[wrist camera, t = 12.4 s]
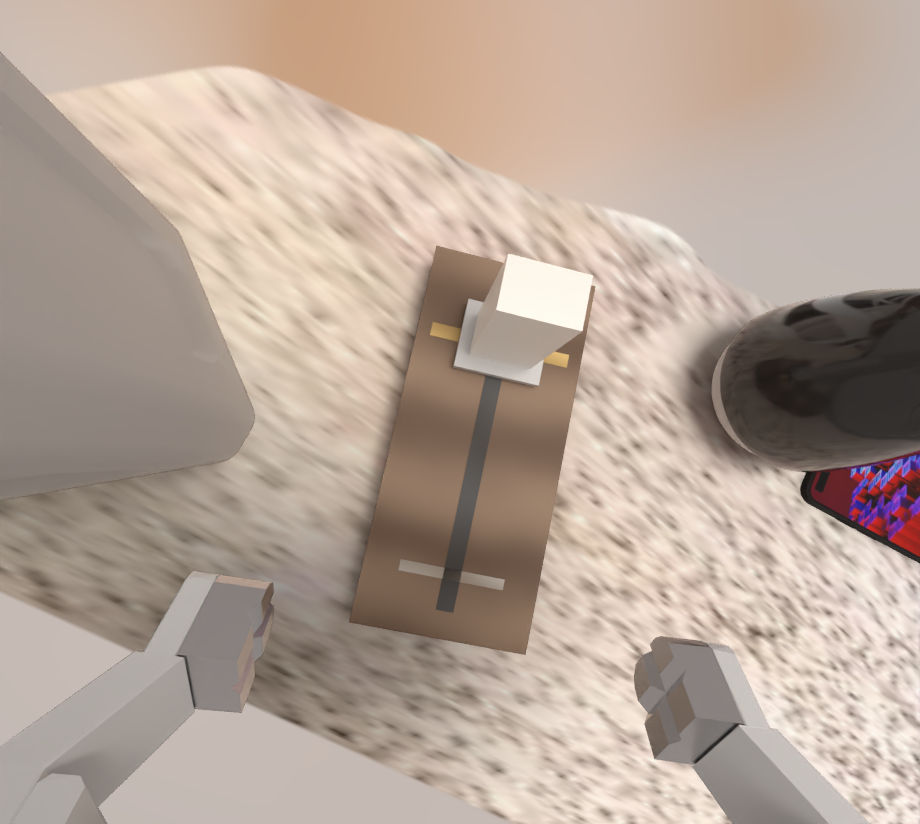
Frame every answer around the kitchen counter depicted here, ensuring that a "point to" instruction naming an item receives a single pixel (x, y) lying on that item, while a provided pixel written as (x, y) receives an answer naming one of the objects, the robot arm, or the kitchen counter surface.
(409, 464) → the board
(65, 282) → the grey box
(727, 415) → the pump dispenser
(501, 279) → the fader tab
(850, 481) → the smartphone
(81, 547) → the kitchen counter surface
